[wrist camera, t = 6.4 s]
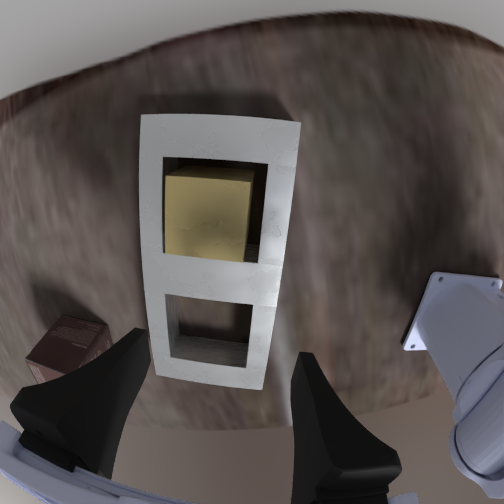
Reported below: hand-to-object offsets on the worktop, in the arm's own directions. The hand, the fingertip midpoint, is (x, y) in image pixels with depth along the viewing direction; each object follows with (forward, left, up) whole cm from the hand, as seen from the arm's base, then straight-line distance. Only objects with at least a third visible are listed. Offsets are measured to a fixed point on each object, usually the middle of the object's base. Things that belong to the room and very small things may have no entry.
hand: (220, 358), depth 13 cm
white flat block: (+2, -1, -9) cm, 9 cm away
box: (+15, +10, -10) cm, 20 cm away
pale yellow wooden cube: (+2, -5, -9) cm, 11 cm away
